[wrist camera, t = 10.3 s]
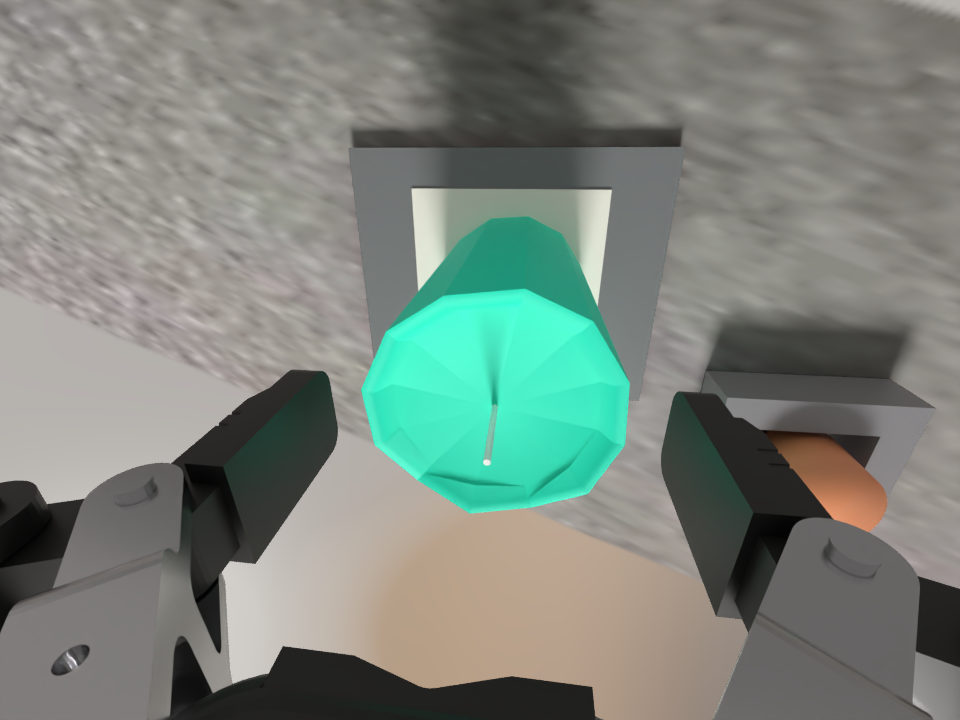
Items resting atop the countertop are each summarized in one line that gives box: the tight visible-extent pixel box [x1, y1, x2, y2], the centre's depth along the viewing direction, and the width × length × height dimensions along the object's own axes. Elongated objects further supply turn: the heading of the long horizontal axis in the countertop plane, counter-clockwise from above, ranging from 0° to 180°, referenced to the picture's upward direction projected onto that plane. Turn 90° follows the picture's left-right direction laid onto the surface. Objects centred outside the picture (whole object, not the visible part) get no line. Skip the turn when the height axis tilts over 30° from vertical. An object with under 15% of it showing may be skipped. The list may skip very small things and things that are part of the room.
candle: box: [361, 216, 630, 513], centre depth 14 cm, size 6×6×12 cm
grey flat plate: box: [349, 147, 686, 401], centre depth 19 cm, size 13×11×1 cm
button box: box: [701, 371, 936, 532], centre depth 21 cm, size 8×8×2 cm
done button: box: [765, 430, 887, 532], centre depth 19 cm, size 4×4×3 cm
